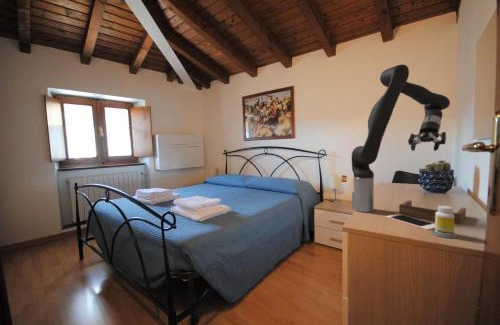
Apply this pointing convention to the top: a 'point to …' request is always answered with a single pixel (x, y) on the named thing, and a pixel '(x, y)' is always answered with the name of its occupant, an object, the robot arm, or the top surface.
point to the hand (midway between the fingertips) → (423, 149)
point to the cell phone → (412, 221)
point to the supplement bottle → (444, 221)
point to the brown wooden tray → (428, 212)
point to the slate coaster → (444, 235)
